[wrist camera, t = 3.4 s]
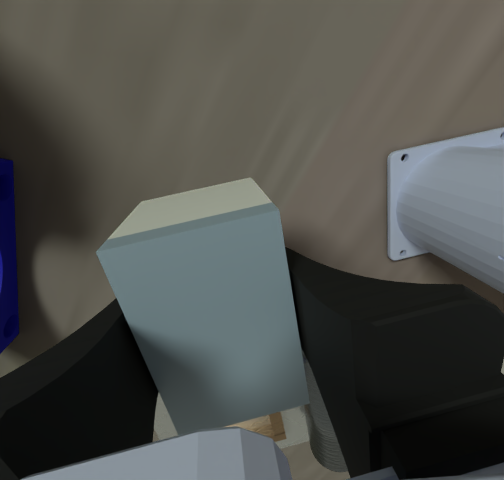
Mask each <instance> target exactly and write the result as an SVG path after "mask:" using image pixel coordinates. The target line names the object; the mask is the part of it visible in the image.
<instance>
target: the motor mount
mask: <svg viewBox="0 0 504 480" xmlns="http://www.w3.org/2000/svg"><path fill="white" fill-rule="evenodd" d="M301 351H302V357H303V363H304V369H305V376H306V382H307V388H308V394H309V401H310V403H309V404H306V405H302V406H298V407H295V408H291V409H287V410H284V411H280V412H276V413H273V414H269V415H265V416H262V417H258V418H255V419H251V420H247V421H244V422H240V423H236V424H233V425H229V426H225V427H232V426H238V427H241V428H244V429H247V430H250V431H253V432H256V433H259V434H262V435H265V436H267V437H270V438H272V439H273V440H274V442H275V443H276V444H277V446H278V447H279V448H280V449H281V448H285V447H288V446H292V445H296V444H299V443H303V442H306V441H310V447H311V450H312V453H313V455H314V456H315V458H316V459H317V461H318V462H319V463H320V464H321V465H323V466H324V467H325V468H327V469H329V470H332V471H335V472H346V471H348V469H347V466H346V463H345V460H344V457H343V454H342V452H341V449H340V446H339V443H338V440H337V437H336V435H335V432H334V429H333V426H332V423H331V421H330V418H329V415H328V412H327V410H326V407H325V404H324V401H323V399H322V396H321V393H320V391H319V388H318V385H317V383H316V380H315V377H314V375H313V372H312V369H311V367H310V365H309V363H308V360H307V358H306V356H305V354H304V352H303V350H302V348H301ZM154 429H155V431H156V433H157V435H158V437H159V439H160V440H163V439H166V438H170V437H174V436H178V433H177V431H176V429H175V427H174V425H173V422H172V420H171V418H170V416H169V413H168V411H167V409H166V407H165V405H164V402H163V400H162V398H161V396H160V393H158V398H157V404H156V410H155V420H154Z"/></svg>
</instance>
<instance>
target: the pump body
mask: <svg viewBox="0 0 504 480" xmlns="http://www.w3.org/2000/svg"><path fill="white" fill-rule="evenodd" d="M96 254H97V256H98V258H99V260H100V262H101V265H102V267H103V269H104V271H105V274H106V276H107V278H108V280H109V282H110V285H111V287H112V289H113V291H114V293H115V296H116V298H117V300H118V302H119V305H120V307H121V309H122V311H123V313H124V316H125V318H126V320H127V322H128V325H129V327H130V329H131V331H132V333H133V336H134V338H135V340H136V342H137V345H138V347H139V349H140V351H141V353H142V356H143V358H144V360H145V362H146V365H147V367H148V369H149V371H150V373H151V376H152V378H153V380H154V382H155V385H156V387H157V389H158V391H159V393H160V396H161V398H162V400H163V402H164V405H165V407H166V409H167V411H168V413H169V416H170V418H171V420H172V422H173V425H174V427H175V429H176V431H177V433H178V435H181V434H185V433H189V432H192V431H196V430H200V429H209V428H221V427H225V426H229V425H233V424H236V423H240V422H244V421H247V420H251V419H255V418H258V417H262V416H265V415H269V414H273V413H276V412H280V411H284V410H287V409H291V408H295V407H298V406H302V405H306V404H309V403H310V401H309V394H308V388H307V382H306V376H305V369H304V363H303V357H302V351H301V344H300V338H299V332H298V326H297V320H296V313H295V307H294V301H293V295H292V288H291V282H290V276H289V270H288V263H287V257H286V251H285V245H284V238H283V232H282V226H281V220H280V213H279V210H278V208H277V207H276V206H275V205H274V204H273V203H272V201H271V200H270V199H269V198H268V197H267V196H266V194H265V193H264V192H263V191H262V190H261V189H260V188H259V186H258V185H257V184H256V183H255V182H254V181H253V179H252V178H246V179H241V180H237V181H232V182H228V183H223V184H219V185H214V186H210V187H205V188H201V189H196V190H192V191H187V192H183V193H178V194H174V195H169V196H165V197H160V198H155V199H151V200H146V201H142V202H140V204H139V205H138V206H137V207H136V208H135V209H134V210H133V211H132V212H131V214H130V215H129V216H128V217H127V218H126V219H125V220H124V221H123V222H122V224H121V225H120V226H119V227H118V228H117V229H116V230H115V231H114V232H113V234H112V235H111V236H110V237H109V238H108V239H107V240H106V241H105V242H104V244H103V245H102V246H101V247H100V248H99V249H98V250H97V251H96Z"/></svg>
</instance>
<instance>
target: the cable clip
mask: <svg viewBox="0 0 504 480" xmlns="http://www.w3.org/2000/svg"><path fill="white" fill-rule="evenodd" d="M18 334H19V318H18V290H17V262H16V234H15V205H14V177H13V161H12V160H7V159H2V158H0V354H1V353H2V351H3V350H4V349H5V348H6V347H7V346H8V345H9V344H10V343H11V342H12V341H13V339H14V338H15V337H16V336H17V335H18Z"/></svg>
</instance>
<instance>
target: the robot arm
mask: <svg viewBox="0 0 504 480" xmlns="http://www.w3.org/2000/svg"><path fill="white" fill-rule="evenodd" d="M501 134H502V137H500V136H501ZM403 154H405V158H404V160H403V161H401V157H402V155H403ZM387 209H388V257H389V258H390V259H391V260H400V259H404V258H408V257H412V256H416V255H420V254H424V253H428V252H431V253H432V254H434V255H436V256H438V257H440V258H441V259H443V260H445V261H447V262H448V263H450V264H452V265H454V266H456V267H457V268H459V269H461V270H463V271H464V272H466V273H468V274H470V275H471V276H473V277H475V278H477V279H479V280H480V281H482V282H484V283H486V284H487V285H489V286H491V287H493V288H495V289H496V290H498V291H500V292H502V293H503V294H504V127H501V128H497V129H492V130H488V131H483V132H479V133H474V134H470V135H465V136H461V137H456V138H452V139H447V140H443V141H438V142H434V143H429V144H425V145H420V146H416V147H411V148H407V149H402V150H398V151H394V152H392V153H391V154H390V155H389V156H388V160H387ZM402 250H403V252H402V253H401V254H400V252H401V251H402ZM285 251H286V257H287V263H288V270H289V276H290V282H291V288H292V295H293V301H294V307H295V313H296V320H297V326H298V332H299V338H300V344H301V348H302V350H303V352H304V354H305V356H306V358H307V360H308V363H309V365H310V367H311V369H312V372H313V375H314V377H315V380H316V383H317V385H318V388H319V391H320V393H321V396H322V399H323V401H324V404H325V407H326V410H327V412H328V415H329V418H330V421H331V423H332V426H333V429H334V432H335V435H336V437H337V440H338V443H339V446H340V449H341V452H342V454H343V457H344V460H345V463H346V466H347V469H348V472H349V475H350V477H351V478H350V479H346V480H504V375H503V374H502V373H501V368H502V363H503V359H504V314H503V313H502V312H501V311H500V310H499V308H498V307H497V306H495V305H494V304H492V303H491V302H489V301H488V300H486V299H484V298H483V297H481V296H480V295H478V294H476V293H475V292H473V291H472V290H470V289H468V288H467V287H465V286H464V285H457V284H416V283H405V282H394V281H386V280H380V279H374V278H368V277H363V276H359V275H354V274H351V273H347V272H343V271H340V270H337V269H334V268H331V267H328V266H326V265H323V264H320V263H318V262H316V261H313V260H311V259H309V258H307V257H305V256H303V255H301V254H299V253H297V252H295V251H293V250H291V249H289V248H287V247H285ZM158 393H159V391H158V389H157V387H156V385H155V382H154V380H153V378H152V376H151V373H150V371H149V369H148V367H147V365H146V362H145V360H144V358H143V356H142V353H141V351H140V349H139V347H138V345H137V342H136V340H135V338H134V336H133V333H132V331H131V329H130V327H129V325H128V322H127V320H126V318H125V316H124V313H123V311H122V309H121V307H120V305H119V302H118V300H117V298H116V299H115V300H114V301H113V302H111V303H110V304H109V305H108V306H107V307H106V308H104V309H103V310H102V311H101V312H99V313H98V314H97V315H96V316H94V317H93V318H92V319H91V320H89V321H88V322H87V323H86V324H84V325H83V326H82V327H81V328H79V329H78V330H77V331H75V332H74V333H72V334H71V335H70V336H68V337H67V338H65V339H64V340H62V341H61V342H59V343H58V344H56V345H55V346H53V347H52V348H50V349H49V350H47V351H46V352H44V353H42V354H41V355H39V356H37V357H36V358H34V359H32V360H31V361H29V362H27V363H26V364H24V365H22V366H21V367H19V368H17V369H15V370H14V371H12V372H10V373H8V374H7V375H5V376H3V377H1V378H0V480H292V477H291V472H290V468H289V464H288V460H287V458H286V456H285V455H284V454H283V452H282V451H281V450H280V448H279V447H278V446H277V444H276V443H275V442H274V440H273V439H272V438H270V437H267V436H265V435H262V434H259V433H256V432H253V431H250V430H247V429H244V428H241V427H238V426H232V427H221V428H209V429H200V430H196V431H192V432H189V433H185V434H181V435H178V436H174V437H170V438H166V439H163V440H159V441H155V442H152V441H153V430H154V420H155V410H156V404H157V398H158Z"/></svg>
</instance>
